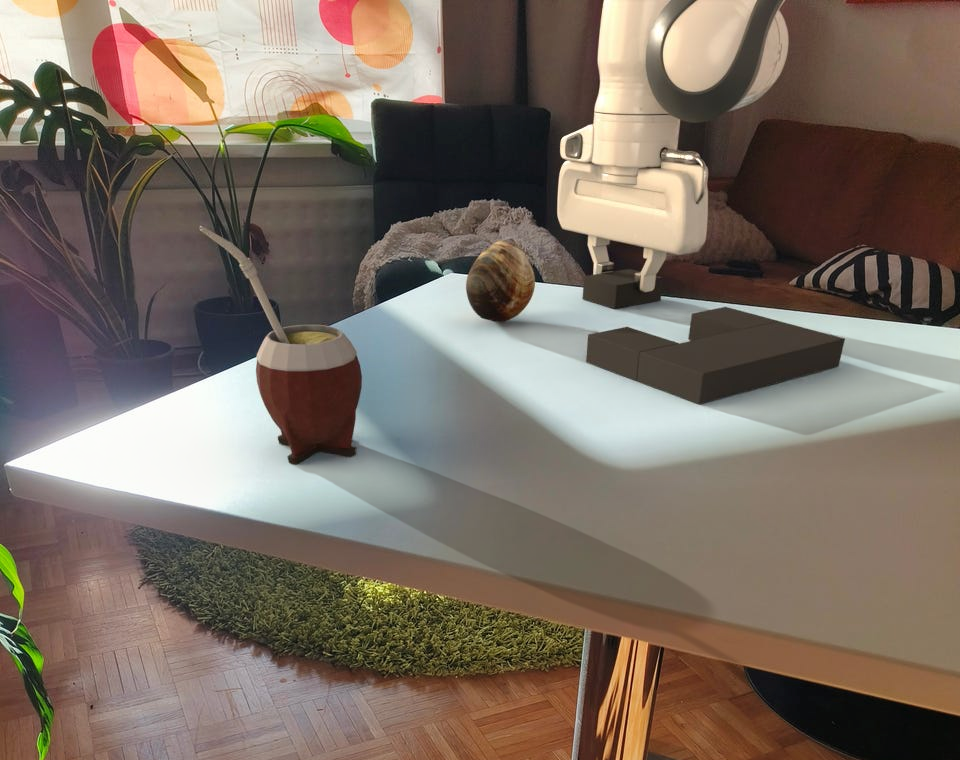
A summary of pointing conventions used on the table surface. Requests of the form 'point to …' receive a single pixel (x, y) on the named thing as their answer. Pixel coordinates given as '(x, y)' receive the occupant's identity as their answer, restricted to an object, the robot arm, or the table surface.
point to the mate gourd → (305, 378)
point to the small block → (618, 289)
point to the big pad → (716, 354)
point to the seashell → (500, 282)
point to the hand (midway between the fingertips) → (622, 284)
